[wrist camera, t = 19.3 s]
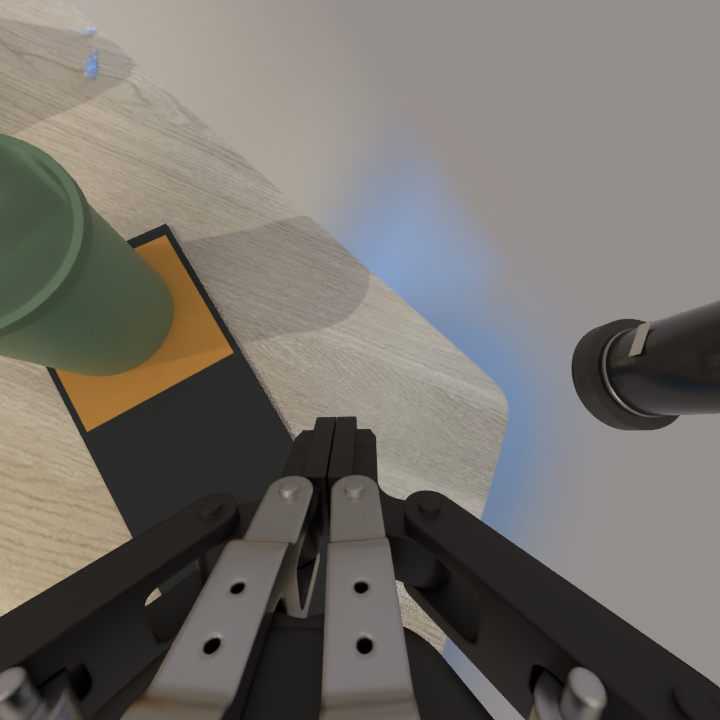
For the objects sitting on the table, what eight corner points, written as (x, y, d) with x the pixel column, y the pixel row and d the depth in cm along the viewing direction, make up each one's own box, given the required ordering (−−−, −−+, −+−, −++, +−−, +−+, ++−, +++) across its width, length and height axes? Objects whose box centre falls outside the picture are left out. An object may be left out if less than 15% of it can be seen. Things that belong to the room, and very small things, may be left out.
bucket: (183, 253, 32) (97, 138, 20) (172, 381, 30) (66, 343, 17) (42, 248, 31) (-150, 120, 18) (19, 381, 28) (-220, 341, 16)
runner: (396, 619, 29) (397, 620, 28) (239, 743, 26) (238, 747, 25) (167, 225, 33) (166, 223, 33) (11, 294, 30) (8, 292, 30)
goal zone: (234, 353, 31) (234, 352, 31) (89, 432, 29) (86, 432, 28) (167, 236, 33) (165, 234, 32) (22, 301, 30) (19, 299, 30)
